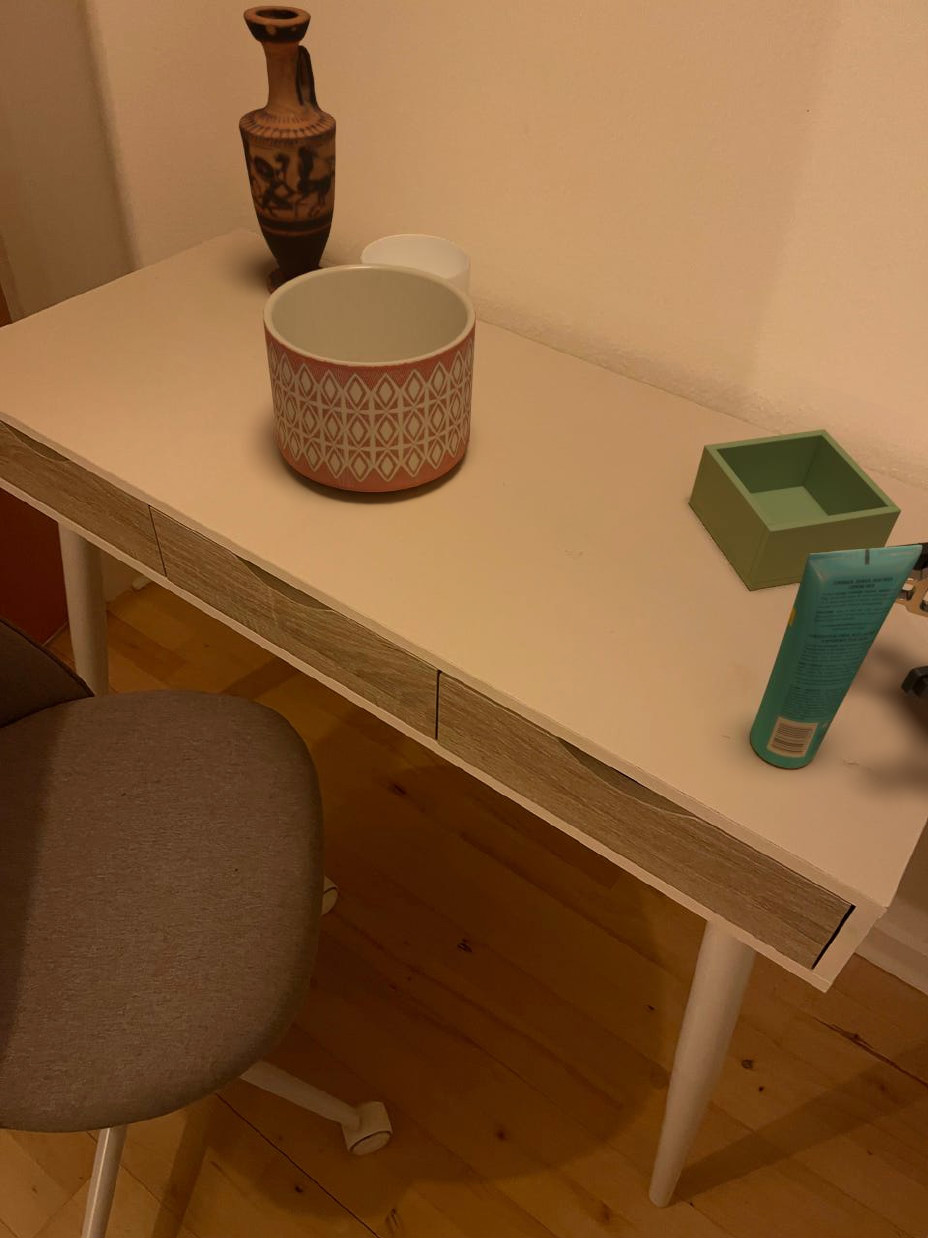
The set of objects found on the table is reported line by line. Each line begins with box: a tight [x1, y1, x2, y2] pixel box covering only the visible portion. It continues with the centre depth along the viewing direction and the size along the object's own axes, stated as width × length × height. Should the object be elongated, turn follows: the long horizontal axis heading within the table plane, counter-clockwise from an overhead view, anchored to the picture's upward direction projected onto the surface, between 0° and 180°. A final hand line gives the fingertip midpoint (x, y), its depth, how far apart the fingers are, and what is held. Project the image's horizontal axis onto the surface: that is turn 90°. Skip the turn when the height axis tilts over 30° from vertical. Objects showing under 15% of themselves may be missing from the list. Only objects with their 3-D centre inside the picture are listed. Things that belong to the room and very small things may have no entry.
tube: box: [749, 545, 922, 769], centre depth 64 cm, size 7×5×19 cm, turn 104°
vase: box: [238, 5, 337, 294], centre depth 109 cm, size 11×11×30 cm
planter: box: [262, 263, 477, 493], centre depth 90 cm, size 19×19×15 cm
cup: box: [359, 233, 471, 298], centre depth 104 cm, size 12×12×12 cm
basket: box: [688, 428, 902, 591], centre depth 86 cm, size 13×13×7 cm
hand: (871, 637), depth 64 cm, fingers open, 8 cm apart
